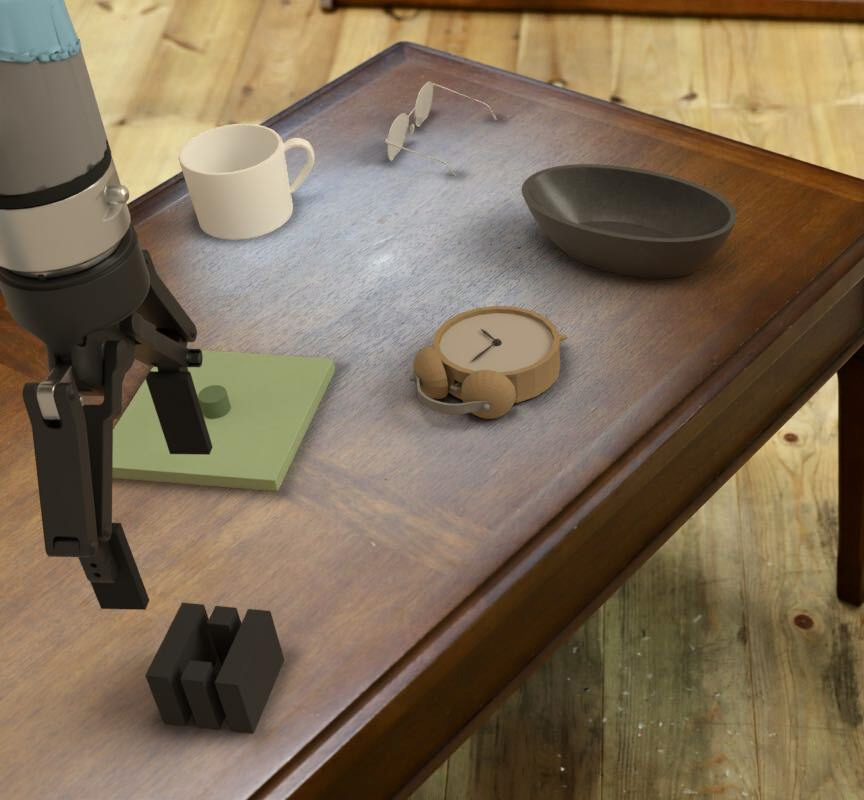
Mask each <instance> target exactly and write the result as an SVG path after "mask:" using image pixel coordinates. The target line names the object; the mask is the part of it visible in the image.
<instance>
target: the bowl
mask: <svg viewBox="0 0 864 800" xmlns="http://www.w3.org/2000/svg"><path fill="white" fill-rule="evenodd" d="M521 194H522V197H523V199H524V202H525V204H526V206H527V208H528V210H529V211H530V214H531V215H532V217H533V218H534V220H535V221H536V223H537V224H538V226H539V227H540V228H541V230H542V231H543V232H544V233H545V234H546V236H547V237H548V238H549V239H550V240H551V242H553V243H554V244H555V245H556V246H557V247H558V248H560V249H561V250H562V251H563V252H564V253H565V254H567V256H568V257H570V258H572V259H574V260H576V261H578V262H579V263H581V264H584V265H586V266H589V267H592V268H594V269H598V270H601V271H604V272H608V273H613V274H616V275H622V276H627V277H633V278H643V279H674V278H680V277H685V276H688V275H690V274H692V273H694V272H695V271H697V270H699V269H700V268H702V267H703V266H705V265H706V264H707V263H708V262H710V261H711V260H712V259H713V258H714V257H715V256H716V254H718V253H719V251H720V250H721V249H722V247H723V246H724V245H725V244H726V242H727V240H728V238H729V237H730V235H731V233H732V231H733V228H734V227H735V224H736V222H737V219H738V215H737V214H738V213H737V210H736V208H735V207H734V205H733V204H732V203H731V202H730V201H729V200H728V199H727V198H726V197H724V196H722V195H721V194H719V193H718V192H716V191H714V190H712V189H710V188H708V187H706V186H703V185H701V184H698V183H696V182H693V181H691V180H688V179H684V178H680V177H678V176H673V175H670V174H665V173H662V172H657V171H653V170H647V169H643V168H636V167H629V166H624V165H623V166H622V165H614V164H613V165H612V164H599V163H598V164H597V163H591V164H590V163H577V164H576V163H575V164H565V165H558V166H553V167H548V168H545V169H541V170H539V171H536V172H535V173H533V174H531V175H530V176H528V177H527V178H526V179H525V180H524V181H523V183H522V185H521Z"/></svg>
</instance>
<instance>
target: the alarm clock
mask: <svg viewBox="0 0 864 800" xmlns="http://www.w3.org/2000/svg"><path fill="white" fill-rule="evenodd" d="M567 339H568V335H567V334H559V331H558V328H557V327H556V325H555V324H554V323H552V321H551V320H549V318H547V317H546V316H544V315H542V314H540V313H538V312H536V311H534V310H530V309H526V308H522V307H518V306H508V305H507V306H506V305H505V306H504V305H491V306H482V307H475V308H473V309H469V310H466V311H463V312H460V313H457V314H456V315H454V316H452V317H450V318H448V319H447V320H445V321H444V322H443V323H442V324H441V325H440V326H439V327H438V328H437V329H436V331H435V333H434V336H433V339H432V346H430V345H428V346H425V347H423V348H422V349H420V350H419V351H418V352H417V353H416V354H415V356H414V359H413V363H412V374H411V375H410V376H409V381H410V382H415V385H416V391H417V398H418V400H419V402H420V403H421V404H422V405H424V406H425V407H426V408H428V409H430V410H431V411H434V412H436V413H437V412H438V413H440V414H446V415H463V414H468V413H469V414H472V415H474V416H477V417H478V418H480V419H486V420H492V419H498V418H500V417H503V416H504V415H506V414H507V413H508V412H510V410H511V409H512V407H513V405H514V404H517V403H521V402H524V401H527V400H529V399H533V398H536V397H538V396H539V395H541V394H542V393H544V392H545V391H547V390H549V389H550V388H551V387H552V386H553V385H554V383H555V382H556V381H557V379H558V378H559V375H560V369H561V355H560V353H561V350H560V349H561V348H560V347H561V346H560V343H561V342H564V341H565V340H567ZM448 394H450V395H452V396H453V397H456V398H457V399H459V400H462V403H448V402H443V401H439V400H442V399H445V398H446V397H447V396H448Z"/></svg>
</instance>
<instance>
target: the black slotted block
mask: <svg viewBox="0 0 864 800" xmlns="http://www.w3.org/2000/svg"><path fill="white" fill-rule="evenodd" d="M240 617H241V616H240V614H239V611H238V608H237V607H234V606H233V607H232V606H223V605H214V608H213V610H212V612H211V614H210V616H209V615H208V612H207V609H206V607H205V604H202V603H191V602H181V604H180V606H179V607H178V609H177V612H176V614H175V616H174V617H173V619H172V621H171V623H170V625H169V628H168V629H167V631H166V634H165V635H164V638H163V640H162V641H161V643H160V645H159V647H158V649H157V652H155V656H154V657H153V659H152V660H151V663H150V665H149V666H148V669H147V671H146V673H145V676H144V677H145V679H146V682H147V684H148V687H149V690H150V693H151V695H152V697H153V700H154V702H155V705H156V707H157V710H158V713H159V715H160V717H161V720H162V723H163V725H168V726H177V727H178V726H179V727H187V726H188V725H189V722H190V720H191V718H192V716H193V718H194V721H195V723H196V727H197V728H198V729H204V730H205V729H206V730H215V731H220V730H221V728H222V725H223V723H224V721H225V720H226V721H227V724H228V725H229V729H230V732H233V733H234V732H235V733H243V734H255V732H256V729H257V727H258V724H259V723H260V719H261V718H262V715H263V713H264V710H265V708H266V705H267V703H268V700H269V698H270V696H271V693H272V691H273V688H274V686H275V683H276V681H277V679H278V676H279V673H280V671H281V668H282V666H283V664H284V662H285V657H284V653H283V651H282V647H281V643H280V640H279V636H278V633H277V629H276V624H275V622H274V619H273V615H272V611H271V610H267V609H264V610H263V609H253V608H248V609H247V611H246V613H245V615H244V617H243V618H242V619H243V620H241V618H240ZM218 660H219V661H218ZM217 662H219V664H220V670H219V672H218V673H217V675H216V672H215V669H214V667H215V665H216V663H217Z"/></svg>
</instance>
